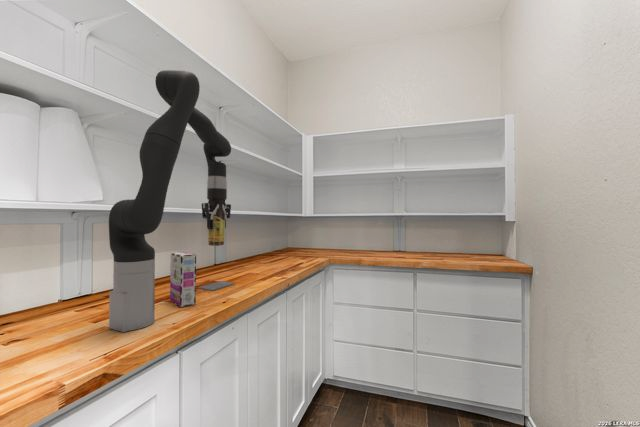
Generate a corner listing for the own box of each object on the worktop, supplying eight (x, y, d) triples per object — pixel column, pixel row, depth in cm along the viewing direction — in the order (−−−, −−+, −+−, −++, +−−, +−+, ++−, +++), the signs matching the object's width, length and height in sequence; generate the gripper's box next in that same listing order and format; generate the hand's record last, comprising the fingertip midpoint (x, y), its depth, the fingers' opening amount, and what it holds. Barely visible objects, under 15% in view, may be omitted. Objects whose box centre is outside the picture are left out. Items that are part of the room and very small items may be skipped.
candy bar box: (196, 304, 93) (197, 254, 93) (180, 308, 90) (180, 255, 90) (184, 297, 101) (185, 251, 101) (169, 300, 98) (169, 252, 98)
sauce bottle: (204, 245, 115) (205, 196, 115) (214, 244, 121) (215, 197, 121) (218, 246, 113) (218, 196, 113) (228, 244, 119) (228, 197, 119)
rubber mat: (212, 291, 110) (212, 289, 110) (197, 288, 113) (197, 287, 113) (234, 284, 121) (234, 283, 121) (220, 282, 124) (220, 281, 124)
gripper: (210, 186, 109) (210, 230, 109) (236, 189, 122) (236, 228, 122) (196, 186, 112) (195, 229, 112) (223, 190, 125) (222, 228, 125)
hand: (216, 228), depth 117 cm, fingers closed on sauce bottle, 6 cm apart
